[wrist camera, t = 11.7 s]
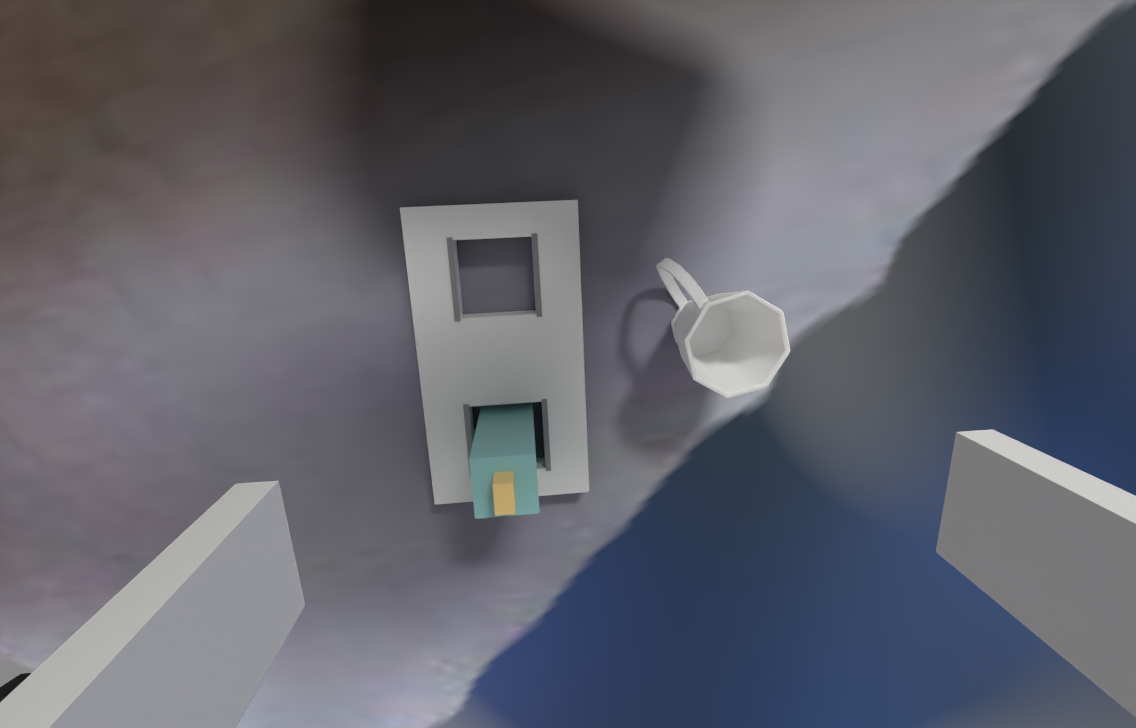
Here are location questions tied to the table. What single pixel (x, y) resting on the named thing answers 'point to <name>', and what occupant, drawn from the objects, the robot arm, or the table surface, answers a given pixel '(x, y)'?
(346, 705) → the table surface
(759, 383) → the cup
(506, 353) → the panel
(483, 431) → the plug
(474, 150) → the table surface
